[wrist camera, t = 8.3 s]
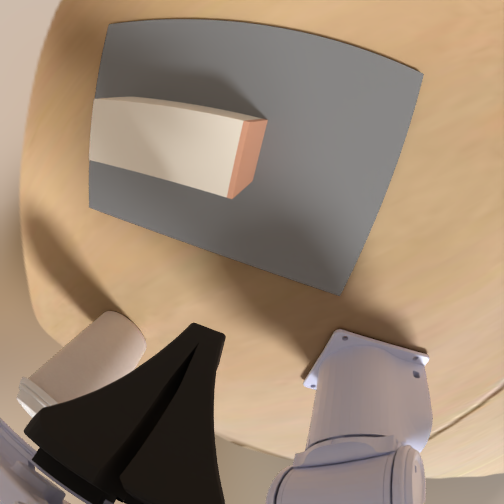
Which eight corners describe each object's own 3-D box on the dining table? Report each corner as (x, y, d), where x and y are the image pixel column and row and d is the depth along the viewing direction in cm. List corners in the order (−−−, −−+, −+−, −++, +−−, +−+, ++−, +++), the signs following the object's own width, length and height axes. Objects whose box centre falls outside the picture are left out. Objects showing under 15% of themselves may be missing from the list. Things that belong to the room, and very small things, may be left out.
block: (249, 122, 12) (94, 98, 14) (232, 199, 15) (88, 159, 16) (267, 120, 16) (132, 96, 17) (252, 180, 18) (125, 148, 19)
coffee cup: (166, 371, 31) (104, 471, 18) (107, 351, 34) (44, 431, 21) (145, 308, 27) (51, 423, 14) (82, 292, 29) (-4, 376, 16)
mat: (421, 74, 12) (423, 74, 12) (339, 292, 20) (339, 296, 20) (112, 24, 15) (109, 24, 15) (92, 206, 23) (89, 207, 23)
